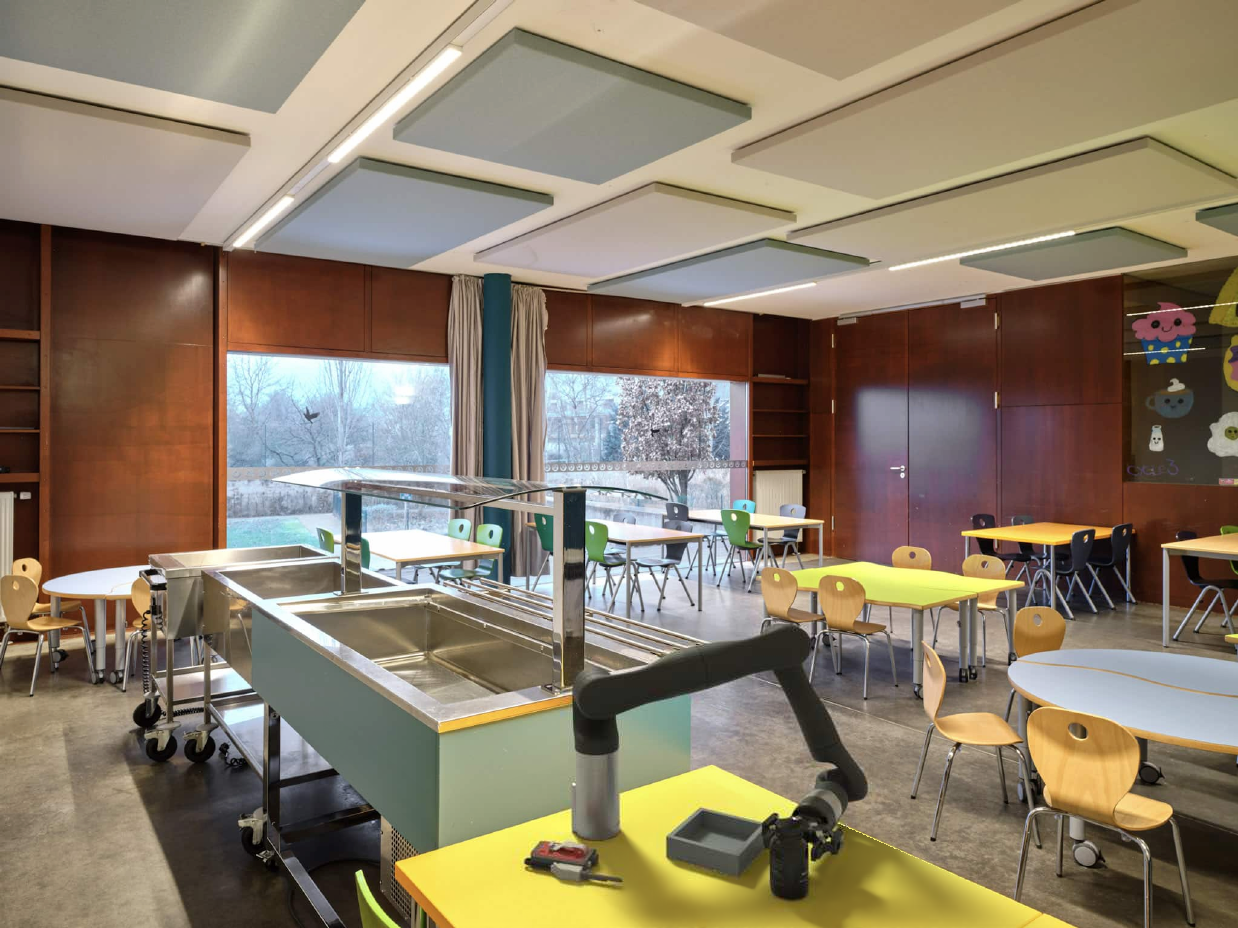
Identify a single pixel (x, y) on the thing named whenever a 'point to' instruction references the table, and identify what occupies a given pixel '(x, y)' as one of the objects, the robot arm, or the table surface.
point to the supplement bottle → (789, 860)
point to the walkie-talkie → (567, 861)
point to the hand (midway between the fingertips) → (789, 849)
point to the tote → (716, 841)
